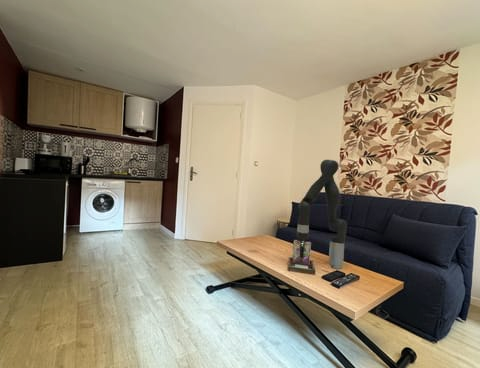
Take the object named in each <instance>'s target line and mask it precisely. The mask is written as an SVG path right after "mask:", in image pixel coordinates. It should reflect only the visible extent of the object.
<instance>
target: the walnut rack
mask: <svg viewBox="0 0 480 368" xmlns="http://www.w3.org/2000/svg"><path fill="white" fill-rule="evenodd" d="M295 264H296V265H303V266H308V269H305V268H298V267H295ZM287 268H288V269H287V272H292V273H293V272H294V273H299V274H304V275H305V274H306V275H310V276H311V275H312V276H315V275H316V269H315V265H314V260H311V259H310V264H307V263H299V262H292V257H288V267H287Z"/></svg>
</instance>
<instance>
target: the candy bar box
mask: <svg viewBox="0 0 480 368" xmlns="http://www.w3.org/2000/svg"><path fill="white" fill-rule="evenodd" d="M299 240H300V239H294V240H293V244H292V245H293V246H292V257H291V258H292V262H299V263H307V264H310V260H311V249H312V248H311V247H312V242H311V241H305V243H304V244H305V245H304V246H305V249H304V254H303V258H300V248H299V246H301V243H300V244H299ZM301 250H303V249H301Z"/></svg>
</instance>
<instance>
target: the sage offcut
mask: <svg viewBox="0 0 480 368" xmlns="http://www.w3.org/2000/svg"><path fill="white" fill-rule="evenodd" d="M294 267H298V268H305V269H309V268H308V266H303V265H296V264H295V266H294Z"/></svg>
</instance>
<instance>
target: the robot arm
mask: <svg viewBox="0 0 480 368" xmlns="http://www.w3.org/2000/svg"><path fill="white" fill-rule="evenodd" d="M319 165H320V167H319V168H320V169H319V170H320V172H321V175H320V177H318V179H317V180H316V181H315V182H313V183H312V185H311V186H310V187H309V189H308V190H307V192H306V194H305V196H304V197H303V198H302V199H301V201H300V203H299V204H298V211H299V212H298V213H299V214H298V215H299V216H298V217H297V218H298V219H297V228H296V238H297V239H298V240H299V244H300V243H301V246H299V248H300V258H303V254H304V249H305V246H304V245H305V244H304V243H305V242H306V240H309V231H310V228H309V227H310V215H311V205H312V204H313V202H315V200H317V198H318V197H319V195H320V193H321V191H322V190H324V195H325V201H326V209H327V224H328V228H329V230H330V231H332V232H334V233H336V235H331V236H330V239H329V252H328V253H329V254H328V265H329V266H330V268H332V269H337V270H341V269H342V270H343V268H344V258H345V257H344V256H345V254H344V252H345V243H346V242H345V241H346V237H347V230H348V224H347V221H346V220H345V219H341V218H337V214H336V213H337V209H338V207H339V206H340V204H341V194H340V189H339V187H338V184H337V183H336V181H335V178H334V176H335V174H336V173H337V172H338V170H339V163H338V161H336V160H334V159H324V160H322V161H321V162H320V164H319ZM301 249H303V250H301Z"/></svg>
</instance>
